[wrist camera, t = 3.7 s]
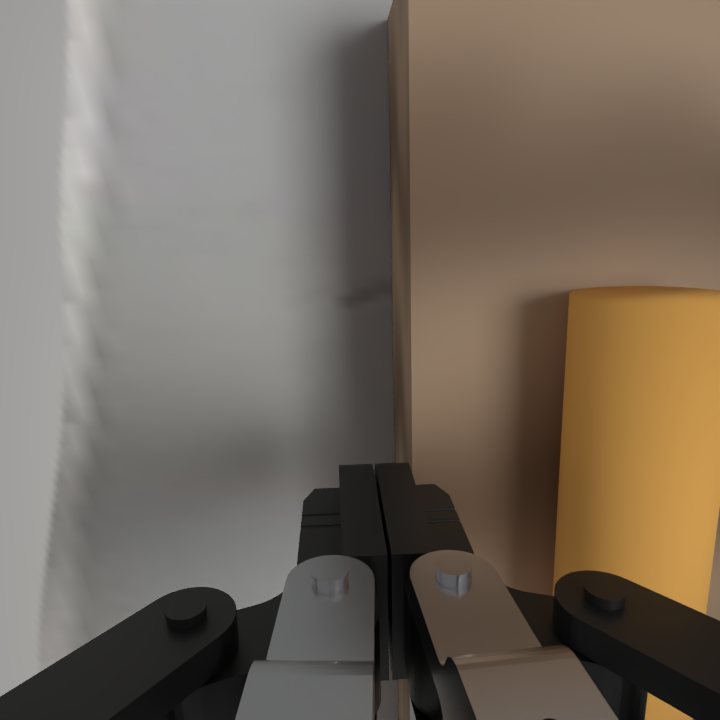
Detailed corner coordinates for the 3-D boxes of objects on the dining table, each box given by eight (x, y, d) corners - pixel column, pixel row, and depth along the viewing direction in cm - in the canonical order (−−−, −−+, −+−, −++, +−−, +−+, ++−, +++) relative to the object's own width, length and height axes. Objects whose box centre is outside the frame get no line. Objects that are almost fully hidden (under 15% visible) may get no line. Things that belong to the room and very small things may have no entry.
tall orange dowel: (538, 296, 11) (704, 311, 9) (616, 283, 13) (771, 292, 11) (522, 684, 13) (653, 776, 11) (591, 626, 15) (716, 695, 13)
